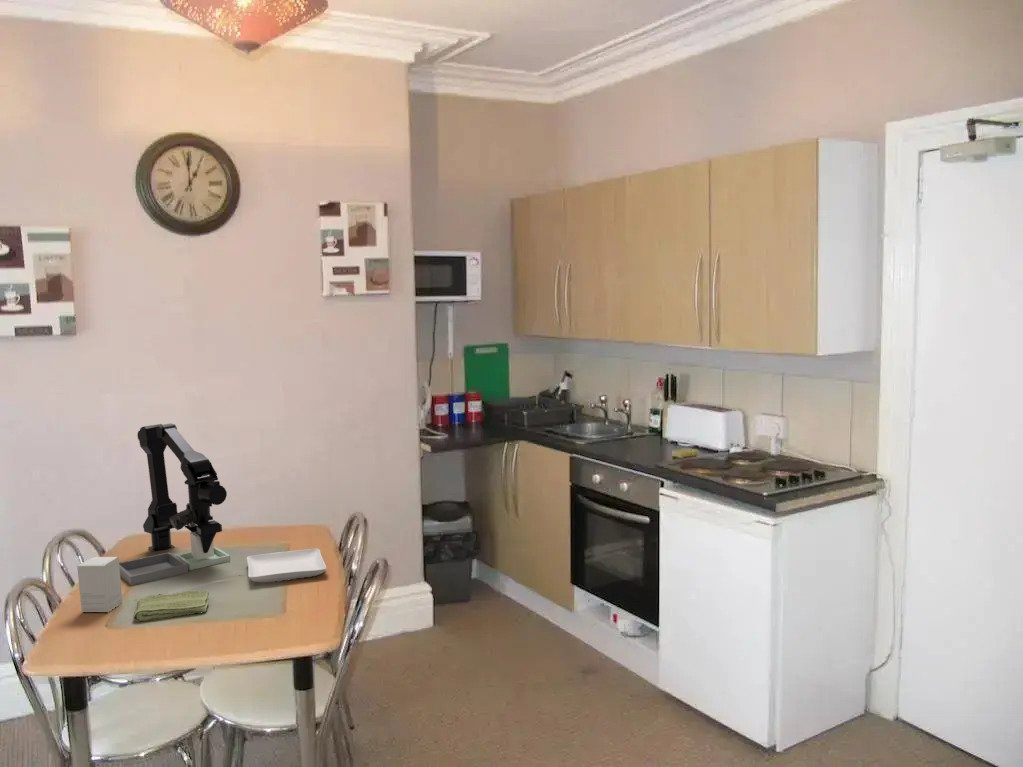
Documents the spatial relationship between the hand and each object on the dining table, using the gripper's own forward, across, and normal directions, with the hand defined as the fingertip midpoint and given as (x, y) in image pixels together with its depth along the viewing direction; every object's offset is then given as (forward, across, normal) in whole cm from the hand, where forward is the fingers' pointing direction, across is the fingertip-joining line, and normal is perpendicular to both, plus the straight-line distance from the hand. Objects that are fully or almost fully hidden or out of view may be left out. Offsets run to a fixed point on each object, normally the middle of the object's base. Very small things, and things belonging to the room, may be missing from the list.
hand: (202, 550), depth 257 cm
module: (+2, 0, 0) cm, 2 cm away
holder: (+4, 0, 0) cm, 4 cm away
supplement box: (+4, +19, -33) cm, 38 cm away
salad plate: (+4, +25, +15) cm, 30 cm away
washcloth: (+4, +33, -20) cm, 38 cm away
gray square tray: (+4, 0, -15) cm, 15 cm away
